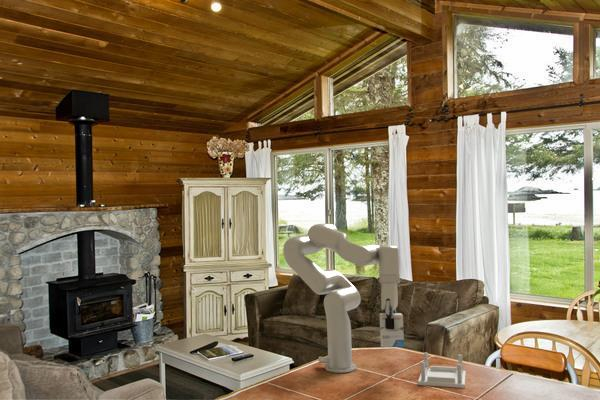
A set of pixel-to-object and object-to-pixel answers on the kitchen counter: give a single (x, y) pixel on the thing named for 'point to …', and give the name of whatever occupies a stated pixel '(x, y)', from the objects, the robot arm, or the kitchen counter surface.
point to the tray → (442, 374)
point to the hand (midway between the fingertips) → (391, 326)
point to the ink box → (392, 332)
